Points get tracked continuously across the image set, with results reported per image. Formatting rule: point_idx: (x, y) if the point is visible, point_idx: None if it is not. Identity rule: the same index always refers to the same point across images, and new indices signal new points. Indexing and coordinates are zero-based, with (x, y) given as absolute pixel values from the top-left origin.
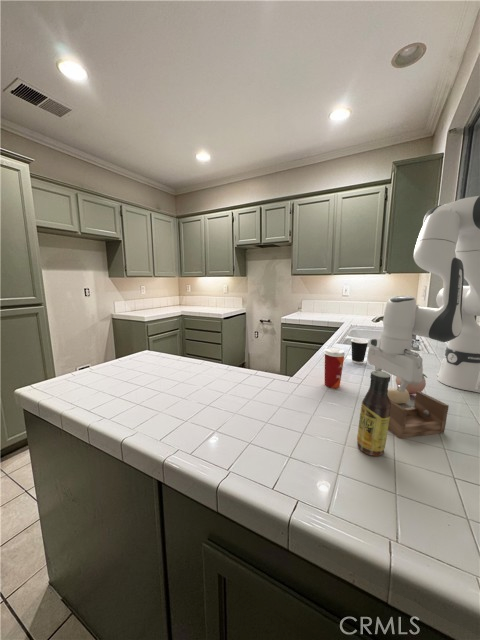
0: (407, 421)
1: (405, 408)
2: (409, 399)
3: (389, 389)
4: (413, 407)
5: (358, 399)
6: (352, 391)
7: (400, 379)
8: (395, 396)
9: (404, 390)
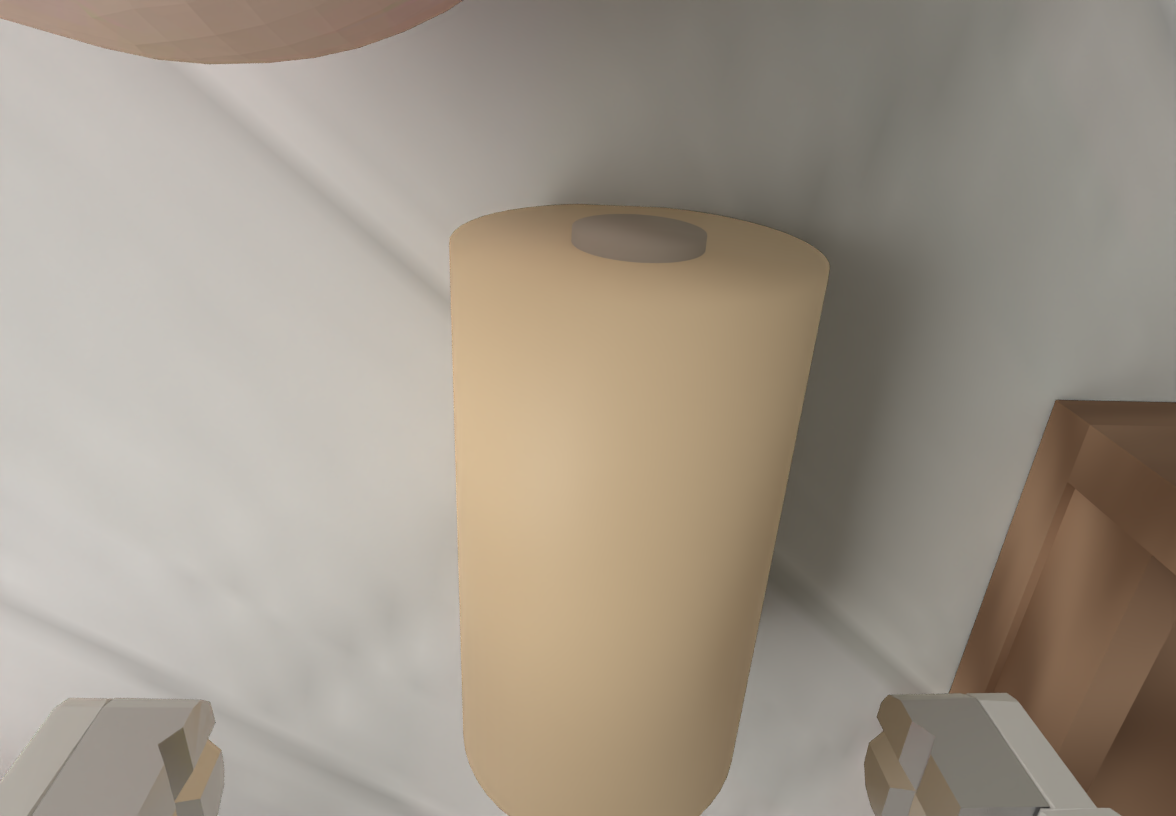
0: (1139, 704)
1: (1091, 704)
2: (808, 246)
3: (614, 703)
4: (1148, 576)
5: (400, 789)
6: None
7: (140, 53)
8: (760, 615)
9: (1021, 728)
